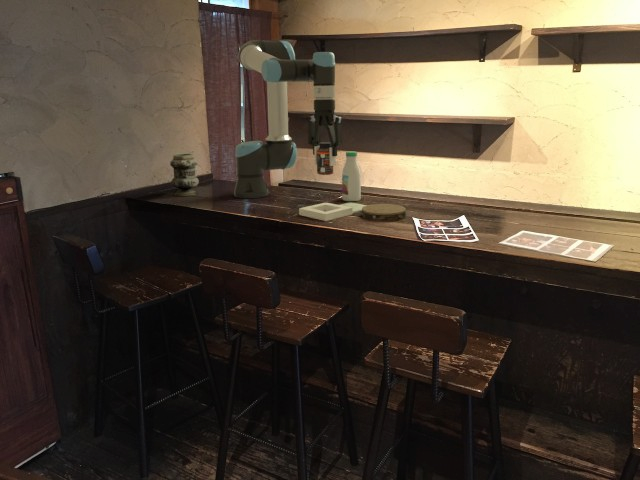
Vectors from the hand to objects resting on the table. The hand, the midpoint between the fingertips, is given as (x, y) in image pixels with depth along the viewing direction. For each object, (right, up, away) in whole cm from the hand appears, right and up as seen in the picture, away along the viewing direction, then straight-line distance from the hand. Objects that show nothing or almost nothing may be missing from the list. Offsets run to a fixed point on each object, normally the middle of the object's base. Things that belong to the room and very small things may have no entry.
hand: (325, 164), depth 192 cm
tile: (+10, -15, +14) cm, 23 cm away
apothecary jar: (-63, -7, +48) cm, 79 cm away
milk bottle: (+11, -11, +30) cm, 34 cm away
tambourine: (+22, -19, +2) cm, 29 cm away
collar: (0, -18, +5) cm, 19 cm away
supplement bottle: (0, -3, +1) cm, 4 cm away
